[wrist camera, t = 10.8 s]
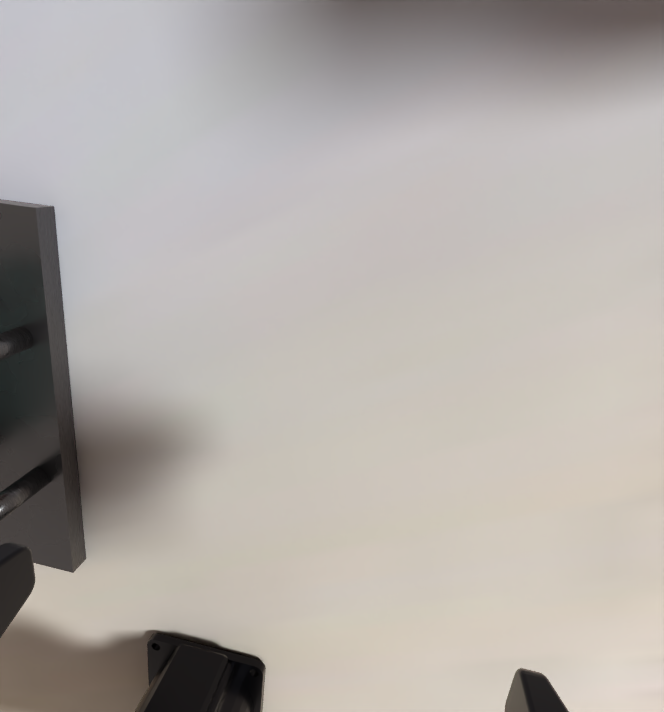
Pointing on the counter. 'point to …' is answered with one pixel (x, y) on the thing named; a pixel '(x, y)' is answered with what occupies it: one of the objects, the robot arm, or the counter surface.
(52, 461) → the dish rack
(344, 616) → the counter surface
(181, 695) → the robot arm
